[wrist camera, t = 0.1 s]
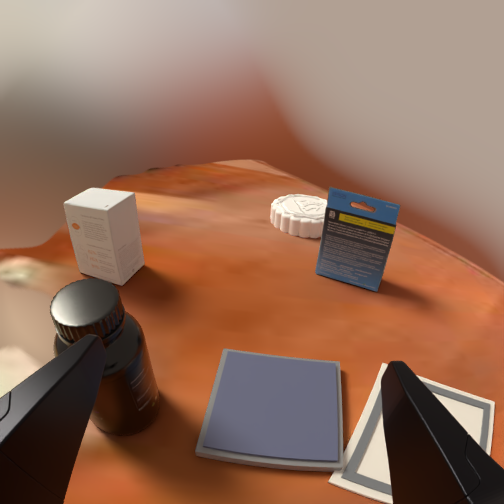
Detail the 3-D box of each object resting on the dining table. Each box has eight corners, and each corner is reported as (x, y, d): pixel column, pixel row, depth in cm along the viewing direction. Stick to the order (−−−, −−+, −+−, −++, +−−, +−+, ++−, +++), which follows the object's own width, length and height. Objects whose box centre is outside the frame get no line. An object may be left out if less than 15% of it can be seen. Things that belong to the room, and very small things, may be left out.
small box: (145, 265, 42) (137, 192, 37) (122, 287, 38) (107, 209, 32) (102, 253, 44) (91, 186, 39) (78, 272, 40) (62, 201, 34)
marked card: (474, 524, 13) (477, 522, 13) (327, 482, 19) (329, 480, 19) (493, 403, 23) (495, 400, 23) (381, 364, 29) (383, 361, 29)
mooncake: (348, 238, 52) (352, 219, 51) (278, 240, 51) (281, 220, 49) (323, 209, 63) (326, 192, 61) (264, 209, 61) (265, 191, 59)
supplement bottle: (78, 428, 21) (15, 327, 15) (101, 369, 27) (63, 264, 21) (154, 445, 21) (113, 347, 15) (168, 380, 27) (147, 271, 21)
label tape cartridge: (380, 278, 43) (403, 195, 36) (377, 293, 39) (402, 205, 33) (321, 260, 46) (335, 178, 39) (313, 274, 43) (328, 186, 36)
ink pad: (339, 471, 20) (344, 466, 19) (196, 456, 21) (194, 449, 20) (337, 368, 29) (340, 359, 28) (223, 355, 30) (223, 346, 29)
